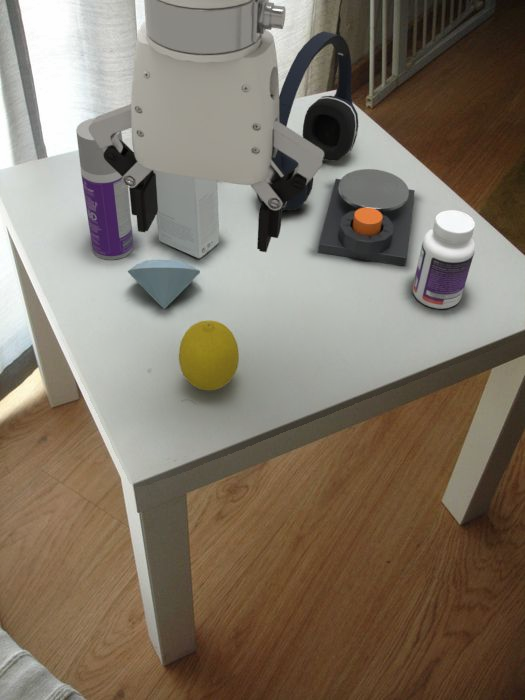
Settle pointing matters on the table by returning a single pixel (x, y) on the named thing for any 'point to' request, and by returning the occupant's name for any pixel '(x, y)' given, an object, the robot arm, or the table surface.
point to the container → (104, 199)
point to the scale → (377, 247)
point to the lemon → (208, 355)
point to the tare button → (367, 221)
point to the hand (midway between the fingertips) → (206, 231)
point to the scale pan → (373, 190)
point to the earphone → (320, 110)
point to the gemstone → (163, 278)
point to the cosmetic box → (187, 213)
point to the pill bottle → (445, 260)
